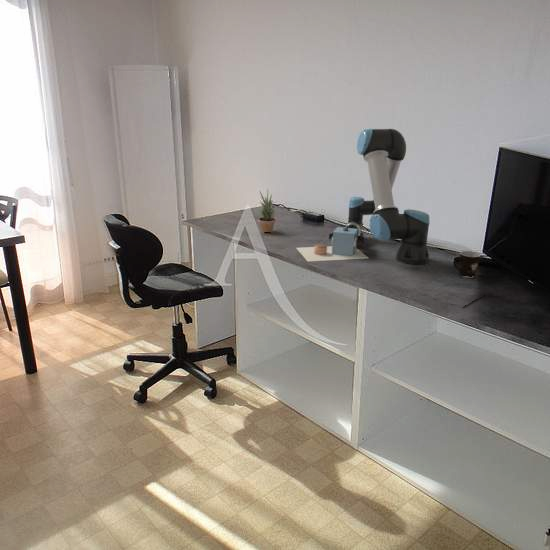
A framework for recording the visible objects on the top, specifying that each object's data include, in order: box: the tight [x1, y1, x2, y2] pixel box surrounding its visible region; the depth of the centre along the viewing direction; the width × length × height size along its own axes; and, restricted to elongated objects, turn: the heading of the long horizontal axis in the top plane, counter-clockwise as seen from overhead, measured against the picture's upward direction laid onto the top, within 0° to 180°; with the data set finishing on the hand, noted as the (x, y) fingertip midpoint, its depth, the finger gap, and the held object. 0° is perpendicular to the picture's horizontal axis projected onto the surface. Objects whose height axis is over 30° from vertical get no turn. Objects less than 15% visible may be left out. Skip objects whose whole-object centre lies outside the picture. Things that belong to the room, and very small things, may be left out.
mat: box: [295, 245, 369, 262], centre depth 253 cm, size 22×30×1 cm
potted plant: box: [257, 188, 276, 233], centre depth 285 cm, size 10×10×25 cm
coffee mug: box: [453, 250, 482, 277], centre depth 224 cm, size 12×9×10 cm
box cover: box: [331, 226, 358, 256], centre depth 252 cm, size 10×10×12 cm
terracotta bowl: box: [314, 244, 327, 255], centre depth 251 cm, size 6×6×4 cm
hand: (343, 242), depth 248 cm, fingers closed on box cover, 10 cm apart
